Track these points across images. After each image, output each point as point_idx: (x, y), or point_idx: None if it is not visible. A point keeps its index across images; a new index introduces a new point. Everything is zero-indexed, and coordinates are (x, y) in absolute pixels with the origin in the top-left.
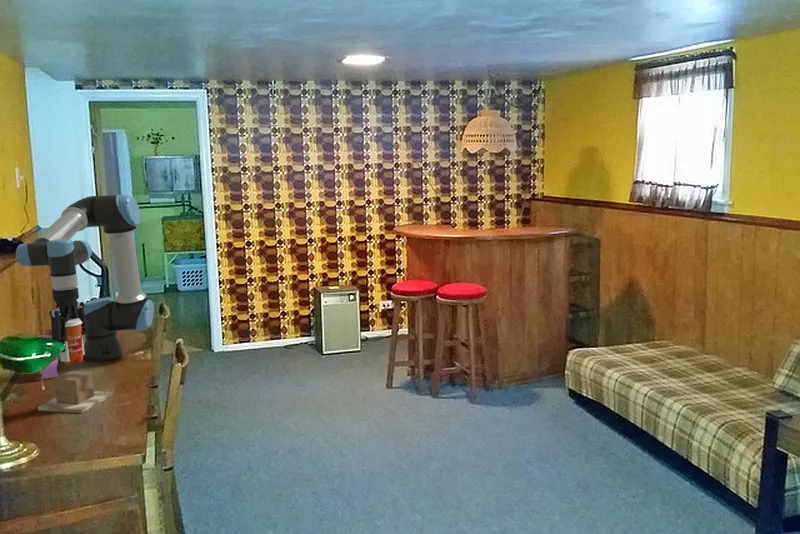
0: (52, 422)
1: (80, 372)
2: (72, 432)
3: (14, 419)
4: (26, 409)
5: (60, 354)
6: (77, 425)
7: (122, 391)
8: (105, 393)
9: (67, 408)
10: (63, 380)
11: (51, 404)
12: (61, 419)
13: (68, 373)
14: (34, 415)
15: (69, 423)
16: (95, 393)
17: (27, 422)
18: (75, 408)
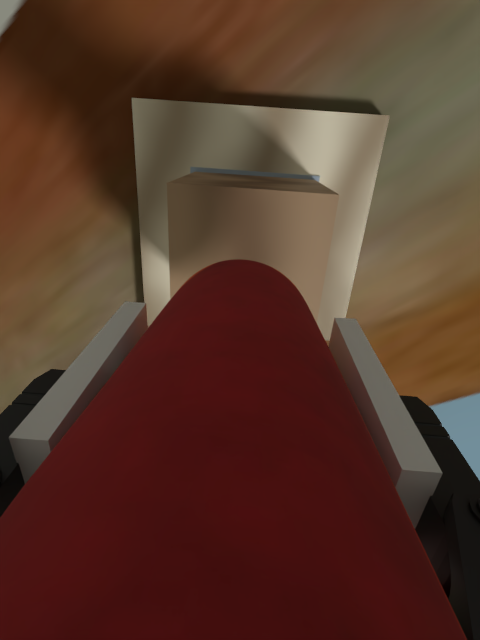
0: (47, 266)
1: (310, 280)
2: (7, 378)
3: (12, 54)
4: (139, 8)
5: (99, 337)
6: (55, 364)
7: (389, 344)
8: (327, 321)
9: (144, 266)
10: (169, 254)
11: (174, 154)
12: (81, 281)
13: (290, 210)
14: (83, 129)
15: (60, 331)
16: (329, 279)
17: (10, 157)
18: (151, 298)
